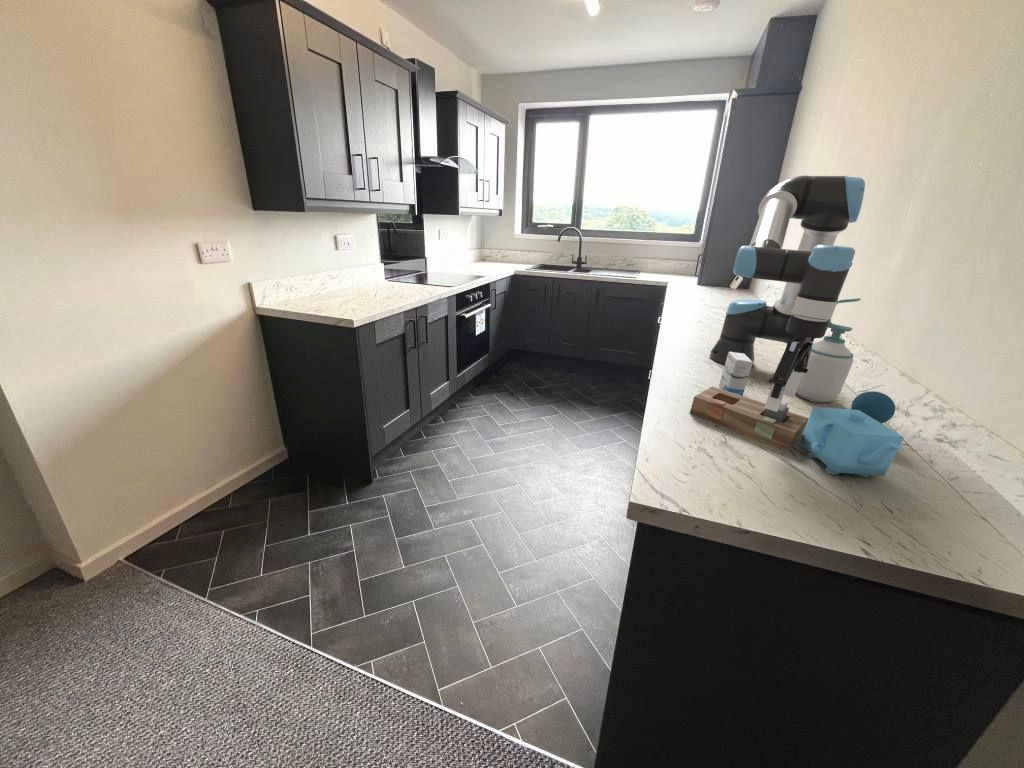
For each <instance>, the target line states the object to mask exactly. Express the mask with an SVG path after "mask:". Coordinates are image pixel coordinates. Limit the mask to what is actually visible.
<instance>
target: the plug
mask: <svg viewBox="0 0 1024 768" xmlns="http://www.w3.org/2000/svg"><path fill="white" fill-rule="evenodd" d="M788 405H789V401H786V400H784V399H782V401H781V404H780V406H779V409H778V411H777V412H775V411H772V410H769V409H765V411H764V414H763V416H765V417H769V418H772V419H775V420H777V421H779V422H782V423H784V421H785V418H786V416H787V413H788V411H789V410H790V407H788Z"/></svg>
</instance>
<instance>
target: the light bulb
mask: <svg viewBox="0 0 1024 768" xmlns="http://www.w3.org/2000/svg"><path fill="white" fill-rule="evenodd" d="M850 406H851V407H850V410H860V411H861V412H863V413H865V414H866V415H868V416H870V417H871V418H873V419H875V420H876V421H878V422H880V423H881V424H885V423H887V422H888V421H890V420H891V419H892V418H893V417H894V415H895V412H896V405H895V402H894V400H893V399H892V398H891V397H890V396H889V395H888V394H885V393H883V392H880V391H873V390H871V391H865V392H862V393H860V394H858V395H857V396H855V398H854V399H853V400H852V403H851V405H850Z"/></svg>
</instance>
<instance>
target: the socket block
mask: <svg viewBox="0 0 1024 768" xmlns="http://www.w3.org/2000/svg"><path fill="white" fill-rule="evenodd" d="M765 404H766V402H762V401H758V400H755V399H752V398H749V397H746V396H744V395H743V396H741V395H737V394H734V393H731V392H728V391H725V390H722V389H721V388H720V387H717V386H710V387H708V388H707V389H705V390H703V391H702V392H700V393H698V394H696V395H694V396H693V400H692V404H691V408H690V412H689V414H692V415H694V416H697V417H699V418H701V419H704V420H706V421H710V422H712V423H715V424H717V425H720V426H721V427H725V428H728V429H730V430H733V431H736V432H737V431H738V433H741V434H743V435H745V436H748V437H750V436H751V438H753V439H756V440H759V441H761V442H764V443H767V444H769V445H771V444H772V446H774V447H776V446H777V448H779V449H781V448H782V450H785V451H788V452H789V451H790V450H791V449H792V448H793V446H794V445H795V444H797V442H798V441H800V439H801V437H802V435H803V432H804V430H805V427H806V424H807V422H808V419H809V417H806V416H804V415H801V414H798V413H796V412H795V413H794V412H791V411H789V410H788V413H787V416H786V418H785V421H784V423H782V422H779V421H777V420H775V419H772V418H769V417H765V416H763V414H764V411H765V409H766V408H764V407H765ZM791 447H792V448H791Z"/></svg>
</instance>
